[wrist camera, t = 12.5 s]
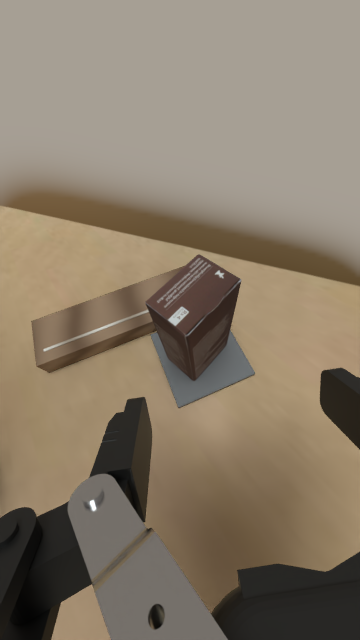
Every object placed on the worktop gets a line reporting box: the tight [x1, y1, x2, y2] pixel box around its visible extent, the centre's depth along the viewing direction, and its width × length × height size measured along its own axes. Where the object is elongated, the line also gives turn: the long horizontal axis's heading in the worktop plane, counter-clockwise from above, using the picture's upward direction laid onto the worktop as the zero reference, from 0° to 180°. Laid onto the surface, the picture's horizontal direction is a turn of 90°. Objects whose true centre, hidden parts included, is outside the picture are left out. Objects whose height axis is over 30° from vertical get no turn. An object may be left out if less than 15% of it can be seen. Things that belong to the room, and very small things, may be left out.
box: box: [145, 255, 241, 381], centre depth 21 cm, size 6×4×12 cm
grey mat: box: [151, 331, 255, 408], centre depth 27 cm, size 9×9×1 cm
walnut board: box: [31, 266, 185, 373], centre depth 29 cm, size 22×6×3 cm, turn 112°
